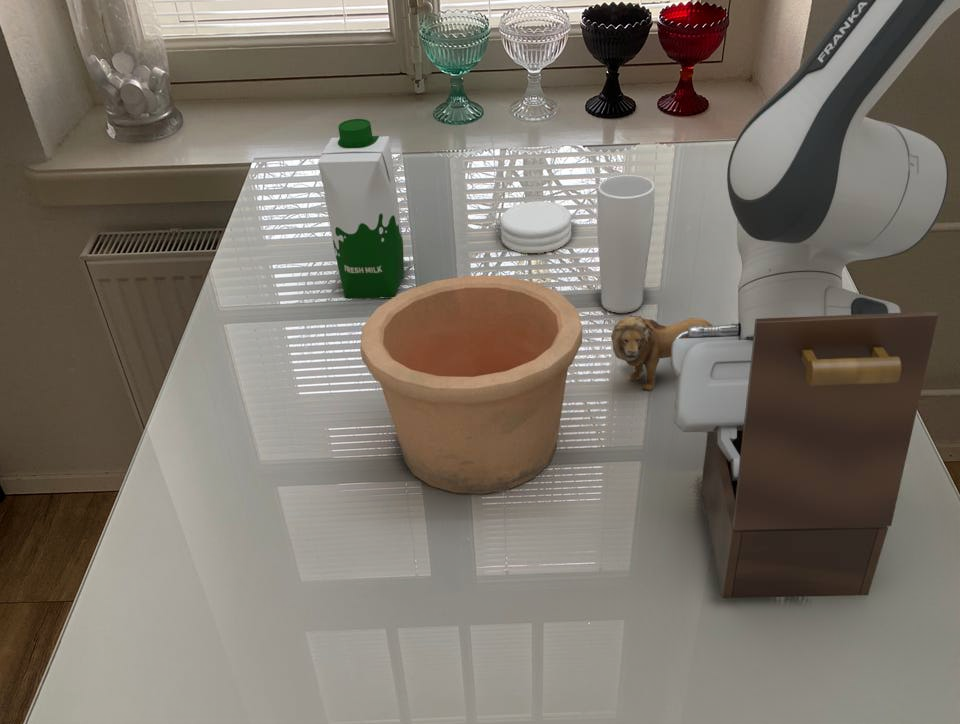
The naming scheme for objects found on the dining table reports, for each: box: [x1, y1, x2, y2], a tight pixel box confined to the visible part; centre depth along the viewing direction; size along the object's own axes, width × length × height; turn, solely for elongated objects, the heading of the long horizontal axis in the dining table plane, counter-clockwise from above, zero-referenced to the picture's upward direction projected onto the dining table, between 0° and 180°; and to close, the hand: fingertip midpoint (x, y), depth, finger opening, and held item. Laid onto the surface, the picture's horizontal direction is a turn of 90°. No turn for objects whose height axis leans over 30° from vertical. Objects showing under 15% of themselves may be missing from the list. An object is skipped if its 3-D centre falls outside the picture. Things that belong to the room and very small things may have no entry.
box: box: [700, 431, 889, 599], centre depth 91 cm, size 17×13×9 cm
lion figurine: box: [610, 315, 714, 392], centre depth 111 cm, size 15×5×9 cm, turn 113°
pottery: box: [359, 275, 583, 495], centre depth 102 cm, size 22×22×14 cm
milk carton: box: [317, 118, 405, 299], centre depth 128 cm, size 9×9×20 cm
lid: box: [733, 310, 939, 530], centre depth 74 cm, size 17×13×5 cm
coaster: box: [500, 200, 572, 254], centre depth 140 cm, size 10×10×4 cm
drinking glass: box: [596, 174, 655, 314], centre depth 122 cm, size 7×7×15 cm
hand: (791, 478), depth 88 cm, fingers open, 7 cm apart
